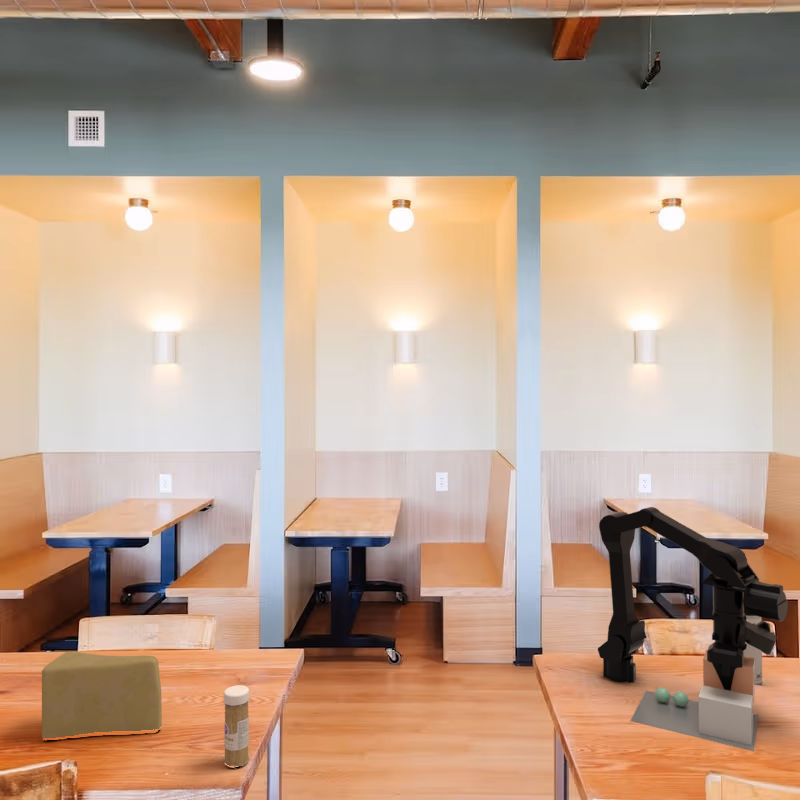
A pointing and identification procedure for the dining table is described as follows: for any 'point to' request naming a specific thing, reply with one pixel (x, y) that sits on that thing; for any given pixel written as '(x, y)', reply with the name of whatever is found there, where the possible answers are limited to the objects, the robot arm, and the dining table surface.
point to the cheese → (100, 694)
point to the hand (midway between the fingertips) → (728, 684)
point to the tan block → (741, 679)
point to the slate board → (680, 719)
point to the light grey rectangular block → (726, 714)
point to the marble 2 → (680, 699)
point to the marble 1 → (662, 695)
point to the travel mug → (754, 650)
